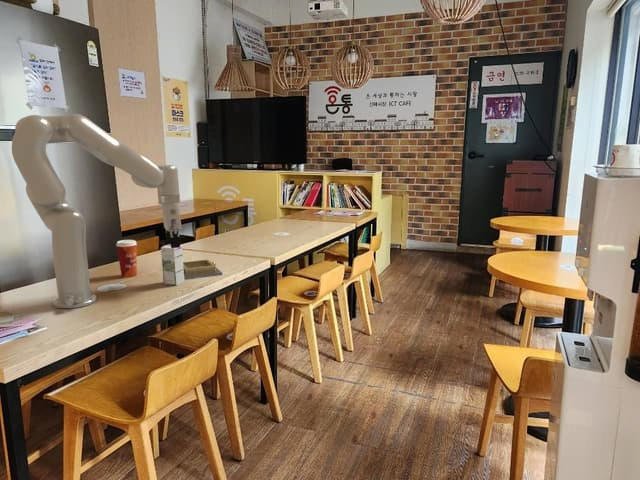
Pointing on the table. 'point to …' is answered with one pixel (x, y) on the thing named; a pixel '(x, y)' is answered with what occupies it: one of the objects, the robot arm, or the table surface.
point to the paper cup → (127, 257)
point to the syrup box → (172, 265)
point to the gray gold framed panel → (200, 269)
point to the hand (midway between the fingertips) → (173, 245)
